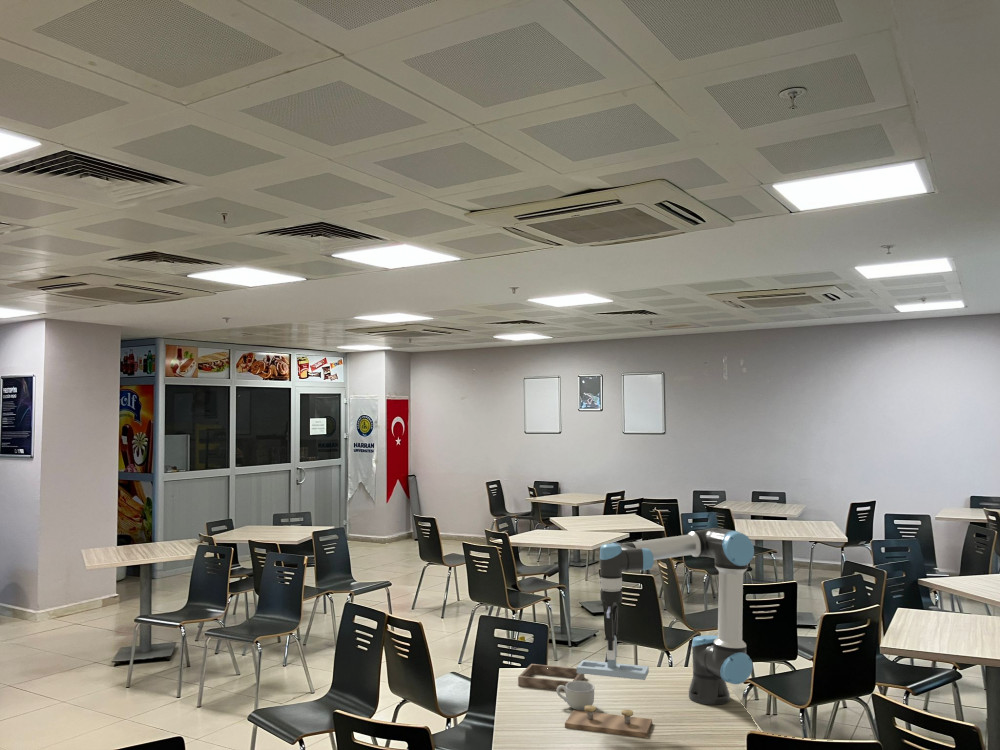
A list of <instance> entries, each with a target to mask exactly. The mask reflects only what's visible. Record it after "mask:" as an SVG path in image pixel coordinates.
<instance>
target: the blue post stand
mask: <svg viewBox="0 0 1000 750" xmlns="http://www.w3.org/2000/svg"><path fill="white" fill-rule="evenodd" d="M616 638H617V637H616V635H614V640H615V660H609V659H607V658H606V660H607V661H597V660H587V659H582V660H581V661H580V663H578V664H577V666H576V668H577V673H580V674H584V675H590V676H591V675H593V676H600V677H601V676H602V677H609V678H610V677H611V678H621V679H622V678H623V679H630V680H640V681H645V680H646V678H647V676H648V674H649V673H650V671H649V670H650V668H649V665H640V664H639V665H638V664H627V663H617V657H616Z"/></svg>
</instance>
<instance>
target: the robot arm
mask: <svg viewBox="0 0 1000 750" xmlns="http://www.w3.org/2000/svg"><path fill="white" fill-rule="evenodd" d="M599 548H600V550H599V567H600V568H599V569H600V573H599V575H600V577H599V579H598V582H600V588H601V589H600V595H599V596H600V601H601V602H605V603H606V605H605V606H604V612H603V613H604V625H605V627H604V628H605V629H604V630H605V632H604V633H605V638H604V641H606V660H607V659H609V660H615V640H614V635H616V658H617V657H618V645H617V644H618V643H617V642H618V639H617V638H619V637H620V635H619V627H618V626H619V622H618V621H619V620H618V618H619V605H618V604H617V603H621V602H622V601H623V591H622V589H623V572H635V571H637V572H638V571H647V570H651V569H652V568H653V566H654V561H656V560H663V559H670V558H678V557H684V556H685V557H686V556H692V557H694V558H699V557H707V558H712V559H714V567H715V568H716V571H718V597H717V598H718V602H717V604H718V605H717V609H718V611H717V635H712V634H710V635H709V634H707V635H697V636H695V637H693V638H692V643H691V648H692V651H691V652H692V678H691V681H690V685H689V688H688V697H689V699H690V700H691V701H693V702H695V703H698V704H702V705H710V706H716V705H717V706H718V705H724V704H727V703H729V702H730V701H731V696H730V695H731V694H730V691H729V688H728V685H727V683H728V684H729V683H730V684H732V685H739V684H743V683H745V682H747V679H748V678H750V676H751V675H752V672H753V669H754V668H753V667H754V666H753V661H752V659H751V658H750V656H749V655H748V654H747V643H746V642H745V641H744V640H743V608H744V606H743V603H744V602H743V600H744V599H743V595H744V589H743V588H744V573H745V572H747V570H748V564H750V562H751V561H752V560H753V558H754V556H755V548H754V544H753V541H752V540H751V538H749V536H748V535H746V534H745V533H742V532H740V531H738V530H737V531H736V530H731V529H726V528H722V527H721V528H720V527H711V528H705V529H700V530H699V529H698V530H694V531H689V532H688V533H687V534H683V535H678V536H677V535H675V536H669V537H662V538H655V539H648V540H646V539H645V540H640V541H639V540H638V541H632V542H631V541H630V542H623V543H620V542H611V543H605V544H601V546H600V547H599Z"/></svg>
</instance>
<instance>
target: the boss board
mask: <svg viewBox="0 0 1000 750" xmlns="http://www.w3.org/2000/svg"><path fill="white" fill-rule="evenodd" d="M596 710H597V707H596V706H595V705H593V704H592V705H587V706H585V707H584V710H575V709H573V710H572V711H571V714H570V715H569V716H568V718H567V719H566V721H565V722H564V728H566V729H567V728H568V729H573V730H574V729H576V730H583V731H589V732H590V731H591V732H597V733H598V732H600V733H607V734H613V735H614V734H615V735H623V736H629V737H638V738H648V735H649V732H651V731H650V730H651V727H652V725H653V719H652V718H647V717H646V718H645V717H644V718H643V717H636V716H634V710H631V709H623V710H621V712H620V713H621V714H611V713H601V712H596Z"/></svg>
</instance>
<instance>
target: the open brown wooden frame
mask: <svg viewBox="0 0 1000 750" xmlns="http://www.w3.org/2000/svg"><path fill="white" fill-rule="evenodd" d="M547 668H548V669H547ZM533 674H537V675H547V676H557V677H564V678H565V677H568V678H573V680H572V681H584V679H585V674H580V673H577V667H576V668H575V667H568V666H566V667H565V666H555V665H547V664H538V663H537V664H536V663H531V664H529V665H528V666H527V667H526V668H525V669H524V670H523V671H522V673H520V674H519V676H518V677H517V686H518V687H527V688H528V687H529V688H537V689H545V688H548V689H547V690H554V689H555V690H556V691H557V687H558V686H560V685H563V686H565V687H566V684H567V683H569V682H571V681H570V680H562V679H552V678H542V677H541V678H540V677H532V675H533ZM559 691H563V692H565V691H564V689H563V688H560V689H559Z"/></svg>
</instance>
